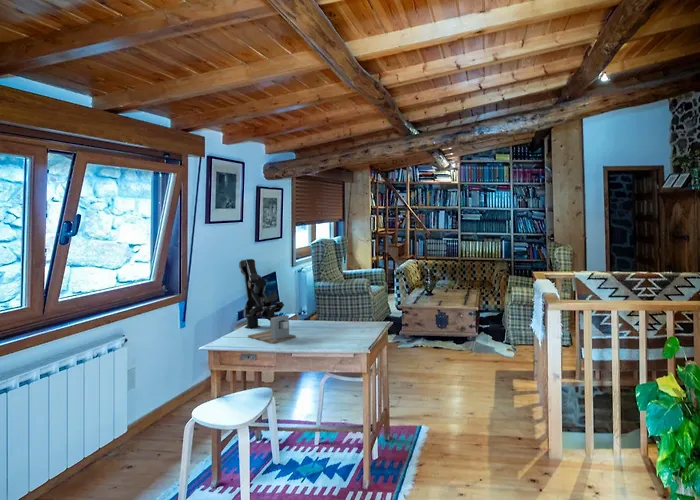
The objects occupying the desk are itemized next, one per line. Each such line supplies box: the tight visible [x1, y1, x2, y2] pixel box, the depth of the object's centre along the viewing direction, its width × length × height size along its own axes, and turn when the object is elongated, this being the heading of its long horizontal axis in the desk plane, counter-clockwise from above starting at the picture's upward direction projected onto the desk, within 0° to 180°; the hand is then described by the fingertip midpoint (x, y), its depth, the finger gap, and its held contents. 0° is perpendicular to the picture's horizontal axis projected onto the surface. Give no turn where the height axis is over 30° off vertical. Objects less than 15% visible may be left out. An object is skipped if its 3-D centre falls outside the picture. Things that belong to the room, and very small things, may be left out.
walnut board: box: [247, 329, 297, 345], centre depth 254 cm, size 20×15×1 cm
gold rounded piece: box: [279, 320, 288, 329], centre depth 249 cm, size 8×5×5 cm, turn 48°
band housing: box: [269, 314, 290, 340], centre depth 249 cm, size 3×9×10 cm, turn 138°
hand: (274, 322), depth 251 cm, fingers closed, pressing on gold rounded piece
